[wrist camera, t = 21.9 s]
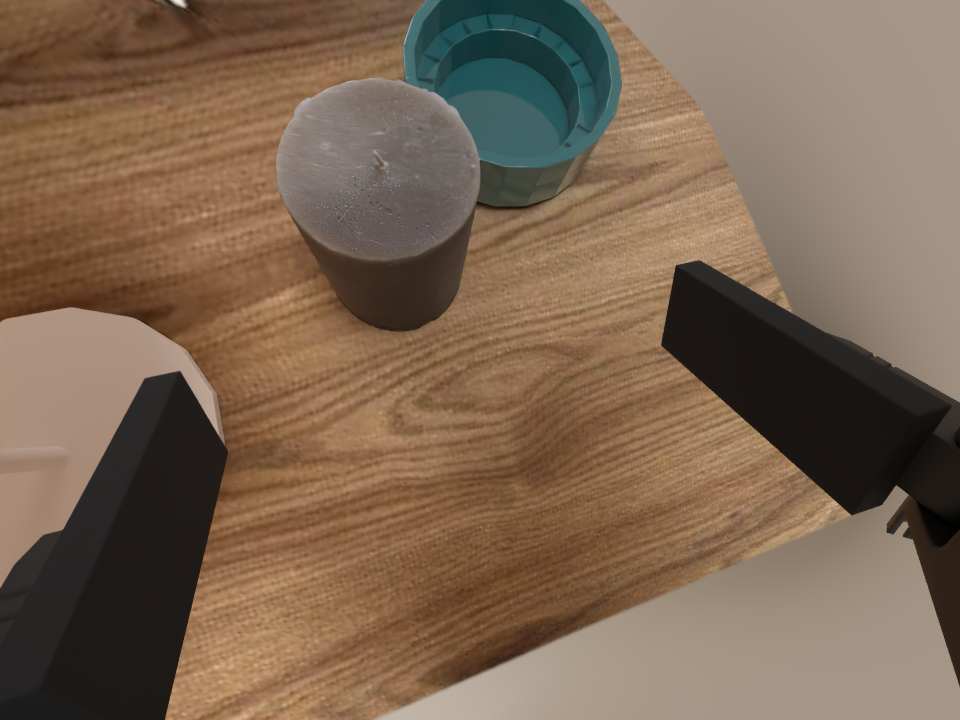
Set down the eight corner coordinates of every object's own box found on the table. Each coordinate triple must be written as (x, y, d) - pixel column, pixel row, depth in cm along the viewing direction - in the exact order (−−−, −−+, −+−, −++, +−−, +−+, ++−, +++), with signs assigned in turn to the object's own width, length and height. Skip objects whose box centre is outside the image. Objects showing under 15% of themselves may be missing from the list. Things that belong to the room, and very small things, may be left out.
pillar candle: (419, 355, 34) (415, 294, 19) (306, 287, 34) (215, 173, 19) (483, 251, 36) (525, 124, 21) (377, 187, 36) (344, 13, 21)
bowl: (622, 107, 40) (656, 50, 34) (533, 246, 36) (554, 209, 31) (471, 9, 39) (480, -66, 33) (368, 140, 36) (358, 83, 30)
